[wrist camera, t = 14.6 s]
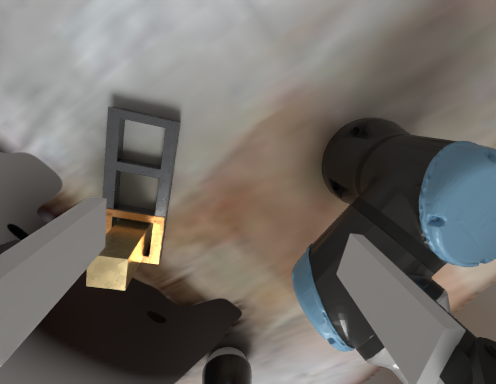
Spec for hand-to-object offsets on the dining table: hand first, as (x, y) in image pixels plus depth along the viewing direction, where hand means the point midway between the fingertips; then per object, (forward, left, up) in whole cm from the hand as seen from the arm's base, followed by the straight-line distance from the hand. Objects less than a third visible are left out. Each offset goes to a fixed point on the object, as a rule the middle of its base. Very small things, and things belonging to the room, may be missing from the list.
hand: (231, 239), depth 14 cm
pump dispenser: (-9, +45, -31) cm, 55 cm away
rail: (+13, +10, -30) cm, 34 cm away
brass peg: (+13, +18, -30) cm, 37 cm away
